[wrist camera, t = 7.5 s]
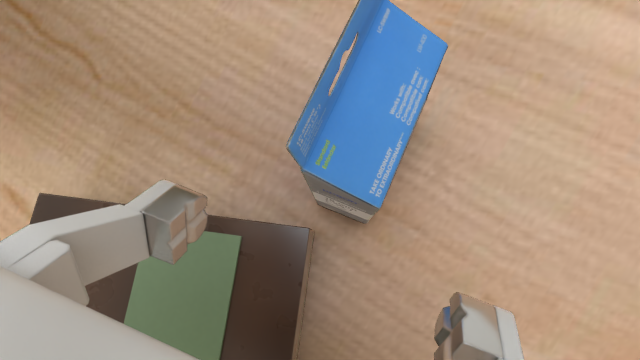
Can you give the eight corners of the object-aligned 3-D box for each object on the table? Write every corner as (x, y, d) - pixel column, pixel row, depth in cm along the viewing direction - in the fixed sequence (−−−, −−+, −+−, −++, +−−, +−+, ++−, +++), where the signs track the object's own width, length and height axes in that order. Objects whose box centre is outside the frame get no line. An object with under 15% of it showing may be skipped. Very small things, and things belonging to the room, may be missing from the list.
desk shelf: (20, 392, 21) (-76, 434, 16) (76, 199, 24) (7, 186, 19) (285, 445, 20) (265, 511, 15) (314, 231, 22) (305, 225, 17)
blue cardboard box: (367, 227, 22) (394, 200, 10) (315, 204, 22) (281, 152, 10) (415, 114, 23) (490, -29, 11) (365, 96, 24) (385, -60, 12)
